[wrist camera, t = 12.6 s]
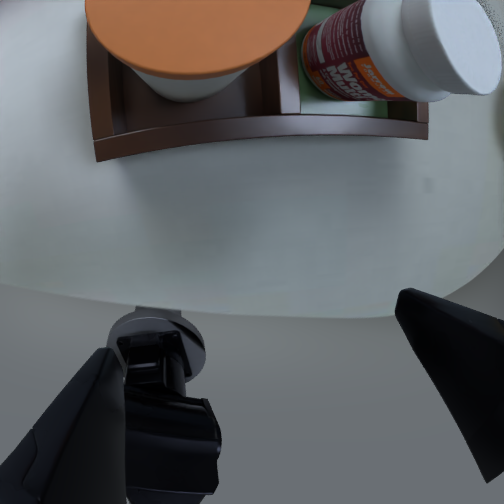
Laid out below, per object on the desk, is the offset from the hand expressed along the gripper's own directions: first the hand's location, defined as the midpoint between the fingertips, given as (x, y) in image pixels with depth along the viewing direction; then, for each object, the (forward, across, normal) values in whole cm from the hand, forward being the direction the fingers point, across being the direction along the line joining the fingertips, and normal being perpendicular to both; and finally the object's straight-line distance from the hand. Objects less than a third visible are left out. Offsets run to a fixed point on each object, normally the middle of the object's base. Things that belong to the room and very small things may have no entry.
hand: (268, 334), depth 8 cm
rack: (+13, -4, -10) cm, 17 cm away
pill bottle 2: (+12, -9, -10) cm, 18 cm away
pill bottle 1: (+12, +1, -10) cm, 16 cm away
